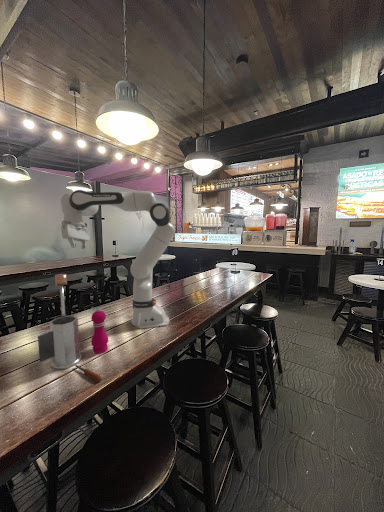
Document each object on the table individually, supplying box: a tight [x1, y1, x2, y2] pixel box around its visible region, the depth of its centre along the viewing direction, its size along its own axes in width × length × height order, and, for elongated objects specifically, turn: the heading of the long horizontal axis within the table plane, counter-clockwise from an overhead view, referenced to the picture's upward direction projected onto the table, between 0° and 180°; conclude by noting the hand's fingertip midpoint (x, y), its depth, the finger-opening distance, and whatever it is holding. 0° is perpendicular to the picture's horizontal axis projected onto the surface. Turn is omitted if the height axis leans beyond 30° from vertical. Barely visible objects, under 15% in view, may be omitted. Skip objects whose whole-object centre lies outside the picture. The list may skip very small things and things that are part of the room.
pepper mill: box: [90, 307, 109, 354], centre depth 98 cm, size 7×7×20 cm
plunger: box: [54, 273, 68, 324], centre depth 87 cm, size 6×6×26 cm
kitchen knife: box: [74, 364, 102, 382], centre depth 82 cm, size 16×1×2 cm, turn 59°
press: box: [37, 315, 82, 371], centre depth 88 cm, size 11×14×18 cm
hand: (79, 248), depth 116 cm, fingers open, 8 cm apart
